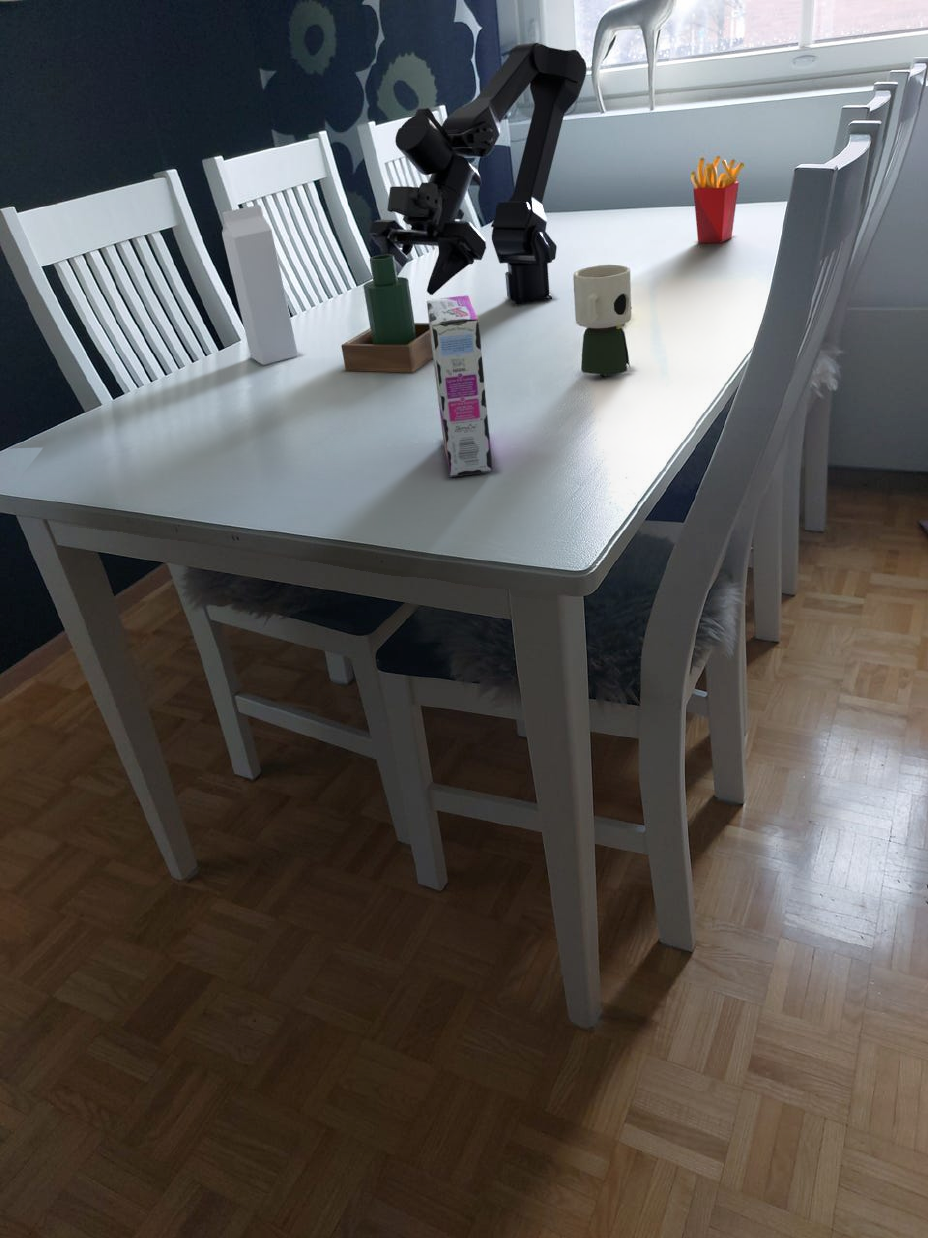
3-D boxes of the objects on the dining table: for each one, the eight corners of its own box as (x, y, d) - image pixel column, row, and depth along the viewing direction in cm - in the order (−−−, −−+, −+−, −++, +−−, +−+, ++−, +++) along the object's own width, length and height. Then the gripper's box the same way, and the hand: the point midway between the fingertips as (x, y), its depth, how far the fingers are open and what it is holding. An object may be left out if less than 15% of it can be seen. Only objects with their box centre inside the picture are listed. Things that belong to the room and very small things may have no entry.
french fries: (705, 235, 188) (707, 152, 180) (745, 235, 184) (749, 150, 176) (686, 245, 182) (687, 160, 174) (727, 246, 178) (730, 159, 170)
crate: (382, 347, 147) (378, 322, 145) (446, 348, 143) (443, 322, 141) (345, 370, 139) (340, 344, 137) (412, 372, 134) (408, 346, 132)
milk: (298, 356, 149) (268, 206, 137) (262, 365, 146) (228, 213, 135) (285, 348, 153) (254, 202, 141) (250, 357, 151) (216, 210, 139)
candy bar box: (496, 472, 101) (480, 318, 92) (450, 479, 101) (429, 325, 92) (485, 435, 111) (469, 292, 102) (443, 441, 111) (423, 298, 102)
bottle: (422, 347, 142) (408, 250, 135) (412, 360, 137) (397, 260, 130) (381, 349, 144) (366, 253, 136) (370, 363, 139) (353, 264, 131)
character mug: (620, 387, 119) (617, 281, 112) (566, 386, 122) (560, 282, 115) (642, 360, 127) (641, 259, 120) (591, 359, 130) (587, 260, 123)
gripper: (366, 161, 138) (327, 258, 138) (463, 158, 128) (422, 263, 127) (409, 207, 147) (373, 298, 147) (504, 208, 137) (465, 306, 136)
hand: (405, 291), depth 139 cm, fingers open, 9 cm apart
